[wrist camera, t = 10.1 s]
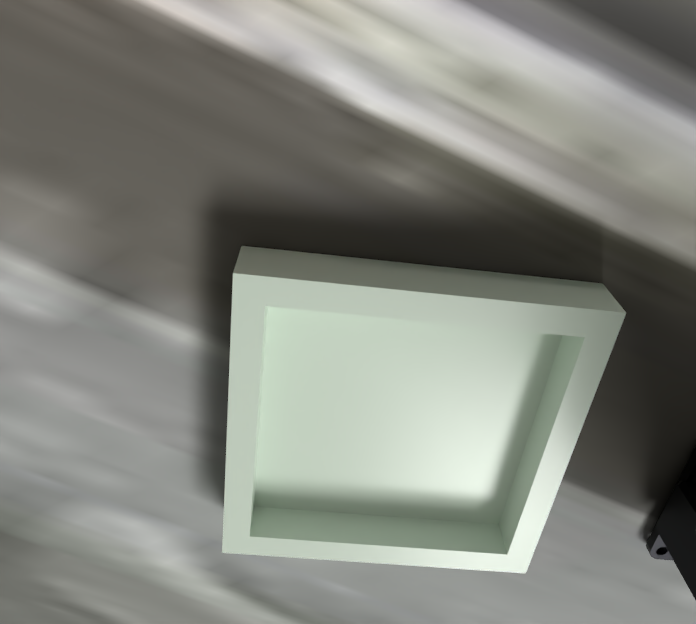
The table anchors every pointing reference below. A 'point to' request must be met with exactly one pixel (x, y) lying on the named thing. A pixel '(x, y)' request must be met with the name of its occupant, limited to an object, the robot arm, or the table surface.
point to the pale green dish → (404, 407)
